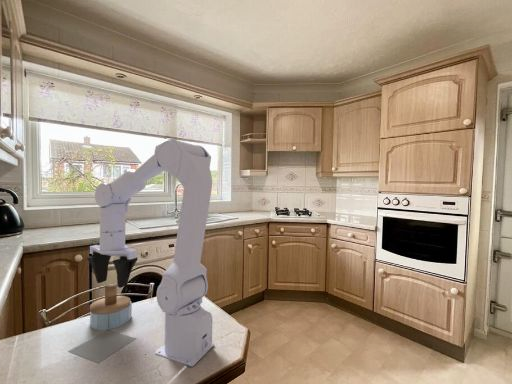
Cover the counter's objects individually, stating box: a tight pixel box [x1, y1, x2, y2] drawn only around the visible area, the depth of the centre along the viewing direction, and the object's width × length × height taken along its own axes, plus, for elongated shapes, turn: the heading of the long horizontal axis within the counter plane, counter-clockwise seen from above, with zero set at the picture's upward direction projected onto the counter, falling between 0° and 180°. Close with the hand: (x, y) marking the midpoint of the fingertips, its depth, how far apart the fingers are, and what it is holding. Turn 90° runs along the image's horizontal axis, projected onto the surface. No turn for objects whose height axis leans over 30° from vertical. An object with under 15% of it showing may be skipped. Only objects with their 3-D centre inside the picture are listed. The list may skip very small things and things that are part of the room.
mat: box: [67, 329, 137, 364], centre depth 55 cm, size 9×9×1 cm
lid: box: [89, 283, 131, 314], centre depth 65 cm, size 9×9×5 cm
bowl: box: [89, 300, 133, 331], centre depth 65 cm, size 9×9×4 cm
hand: (112, 284), depth 65 cm, fingers open, 7 cm apart
